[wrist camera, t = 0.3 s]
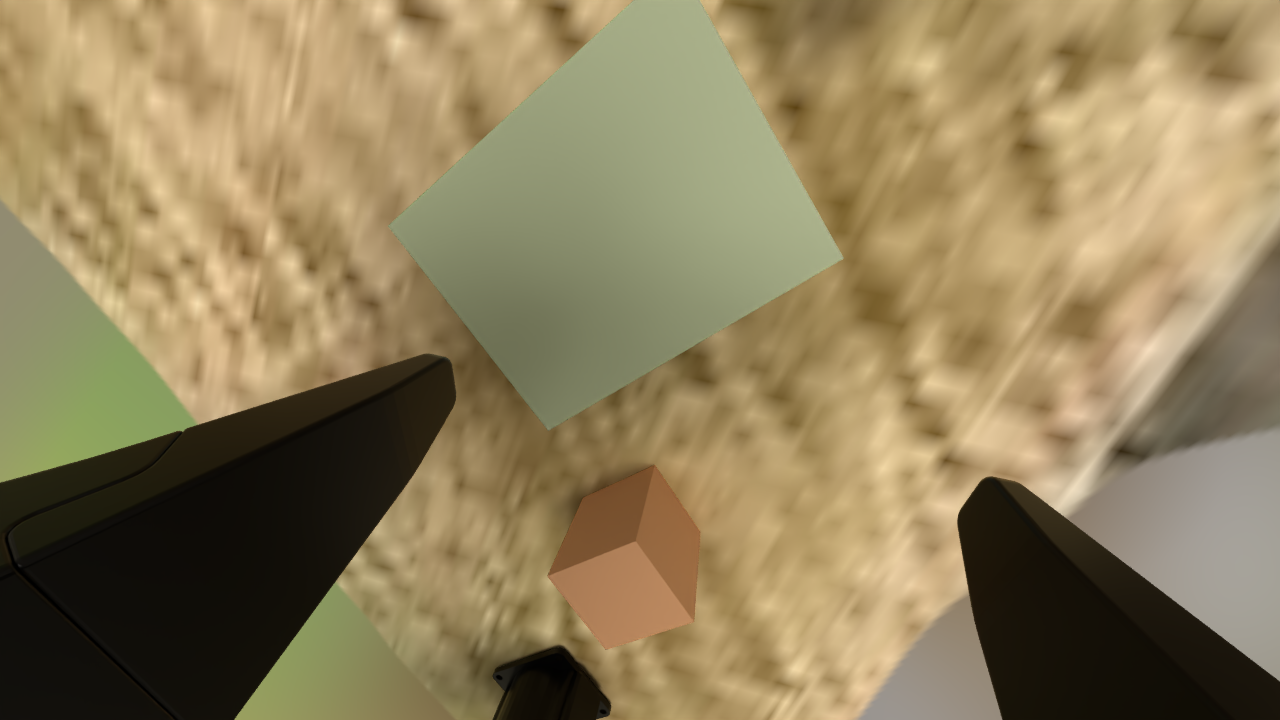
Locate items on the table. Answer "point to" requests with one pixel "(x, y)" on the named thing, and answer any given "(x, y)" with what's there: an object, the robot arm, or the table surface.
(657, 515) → the terracotta block
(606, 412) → the table surface
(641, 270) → the sage slab
